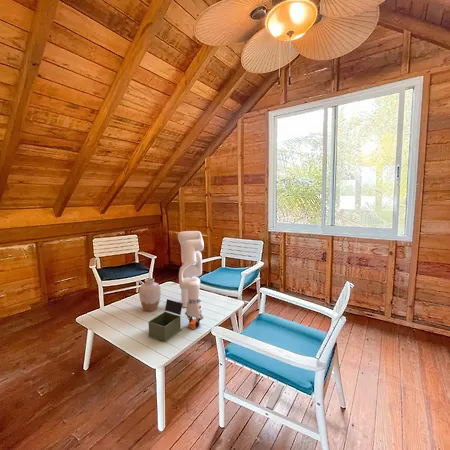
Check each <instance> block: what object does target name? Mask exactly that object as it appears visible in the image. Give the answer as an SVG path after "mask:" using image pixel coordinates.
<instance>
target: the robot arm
mask: <svg viewBox="0 0 450 450" xmlns="http://www.w3.org/2000/svg"><path fill="white" fill-rule="evenodd" d="M177 239H178V240H177V241H178V242H179V245H180V258H181V259H180V261H181V263H182V266H180V267H179V271H178V286H179V288H180V292H181V293H180V296H181V297H180V299H181V300H180V301H179V303H183V304H182V308H183V307H184V308H186V311H185V313H184V315H185V316H186V317H187V319H188V323H189V322H191V321H192V320H193V319H196V328H195V329H197V328H198V327H200V325H199V321H202V320H203V319H204V316H203V306H202V300H201V297H200V295H201V294H200V293H201V291H200V290H201V289H200V287H201V279H200V278H199V277H201V276H202V274H203V256H202V252H203V251H204V249H205V243H204V239H203V235H202V232H201V231H200V230H186V231H185V230H184V231H180V232H178V233H177Z"/></svg>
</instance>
